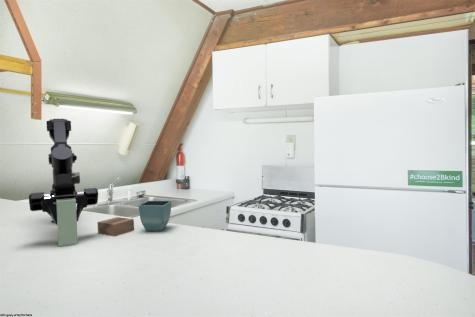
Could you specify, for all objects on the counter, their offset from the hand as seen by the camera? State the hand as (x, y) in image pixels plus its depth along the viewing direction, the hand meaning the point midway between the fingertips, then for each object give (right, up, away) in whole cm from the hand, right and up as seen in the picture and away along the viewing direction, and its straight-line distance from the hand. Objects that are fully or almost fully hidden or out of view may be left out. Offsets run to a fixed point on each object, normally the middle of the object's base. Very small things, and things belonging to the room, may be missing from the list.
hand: (66, 222), depth 102 cm
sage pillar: (-1, -7, +2) cm, 7 cm away
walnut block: (+10, -6, +13) cm, 18 cm away
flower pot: (+23, -5, +15) cm, 28 cm away
